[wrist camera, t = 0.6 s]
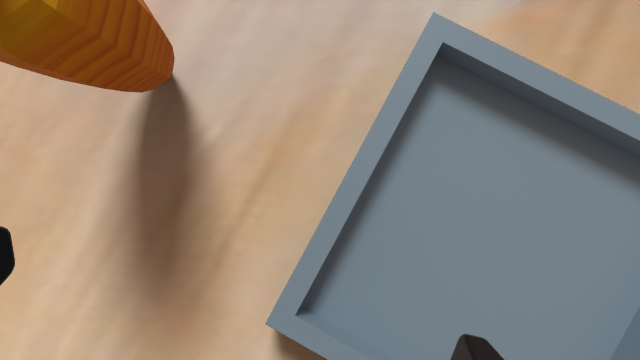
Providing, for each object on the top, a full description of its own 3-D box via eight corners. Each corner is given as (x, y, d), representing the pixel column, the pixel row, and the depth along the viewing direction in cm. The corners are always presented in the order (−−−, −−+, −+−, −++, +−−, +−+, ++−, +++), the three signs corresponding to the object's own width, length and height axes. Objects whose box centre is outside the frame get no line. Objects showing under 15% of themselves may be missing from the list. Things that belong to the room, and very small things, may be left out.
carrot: (114, 37, 22) (-402, -292, 7) (202, 18, 21) (-131, -370, 6) (129, 128, 22) (-362, -4, 7) (219, 110, 21) (-84, -71, 6)
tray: (559, 469, 20) (589, 509, 17) (275, 307, 21) (265, 324, 18) (719, 181, 20) (773, 180, 17) (422, 33, 21) (433, 12, 18)
